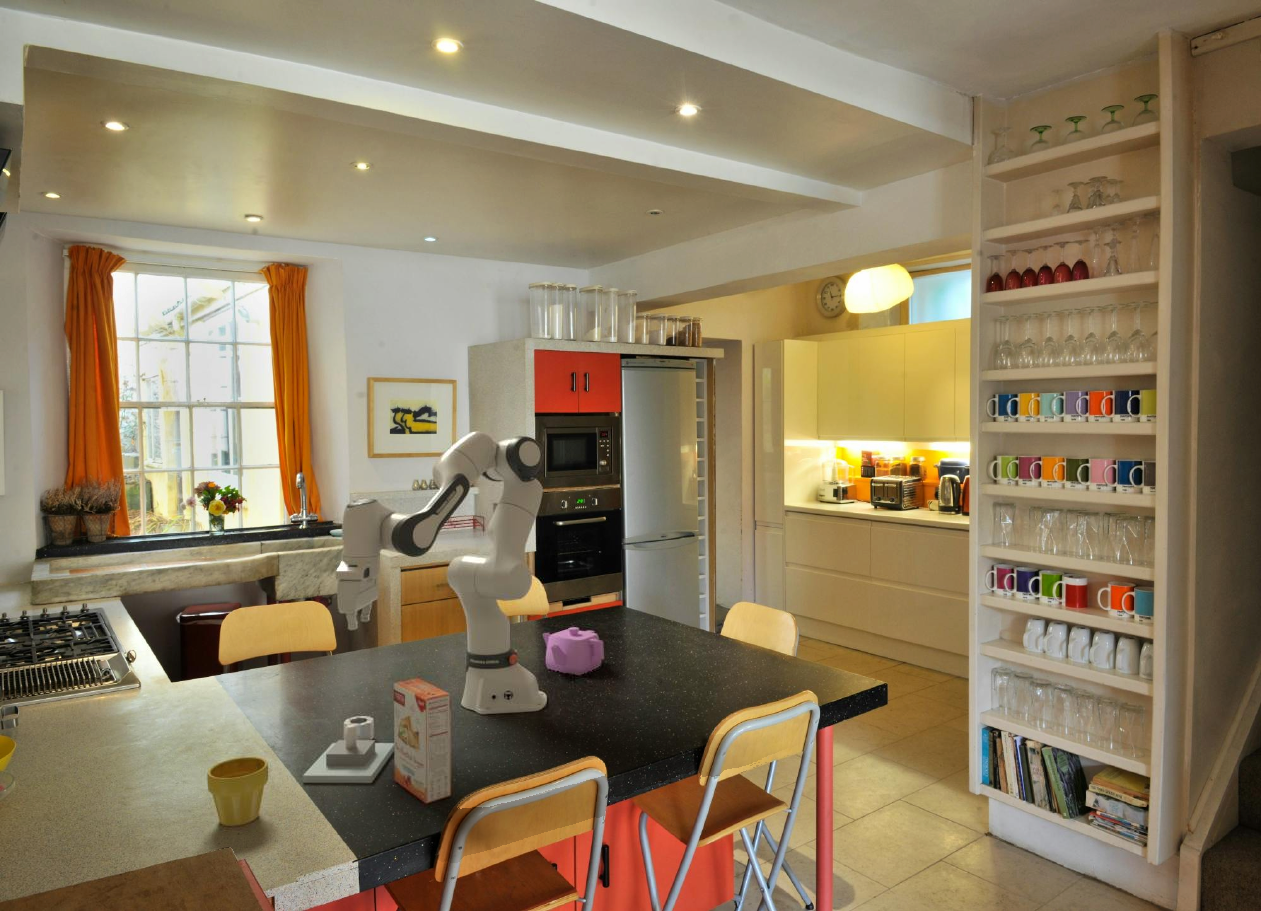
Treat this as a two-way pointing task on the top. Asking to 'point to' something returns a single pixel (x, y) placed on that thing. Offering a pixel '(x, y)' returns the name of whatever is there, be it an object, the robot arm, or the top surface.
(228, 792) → the plant pot
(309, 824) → the top surface
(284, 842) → the top surface
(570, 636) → the teakettle
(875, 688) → the top surface
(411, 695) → the cracker box
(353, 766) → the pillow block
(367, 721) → the ring
